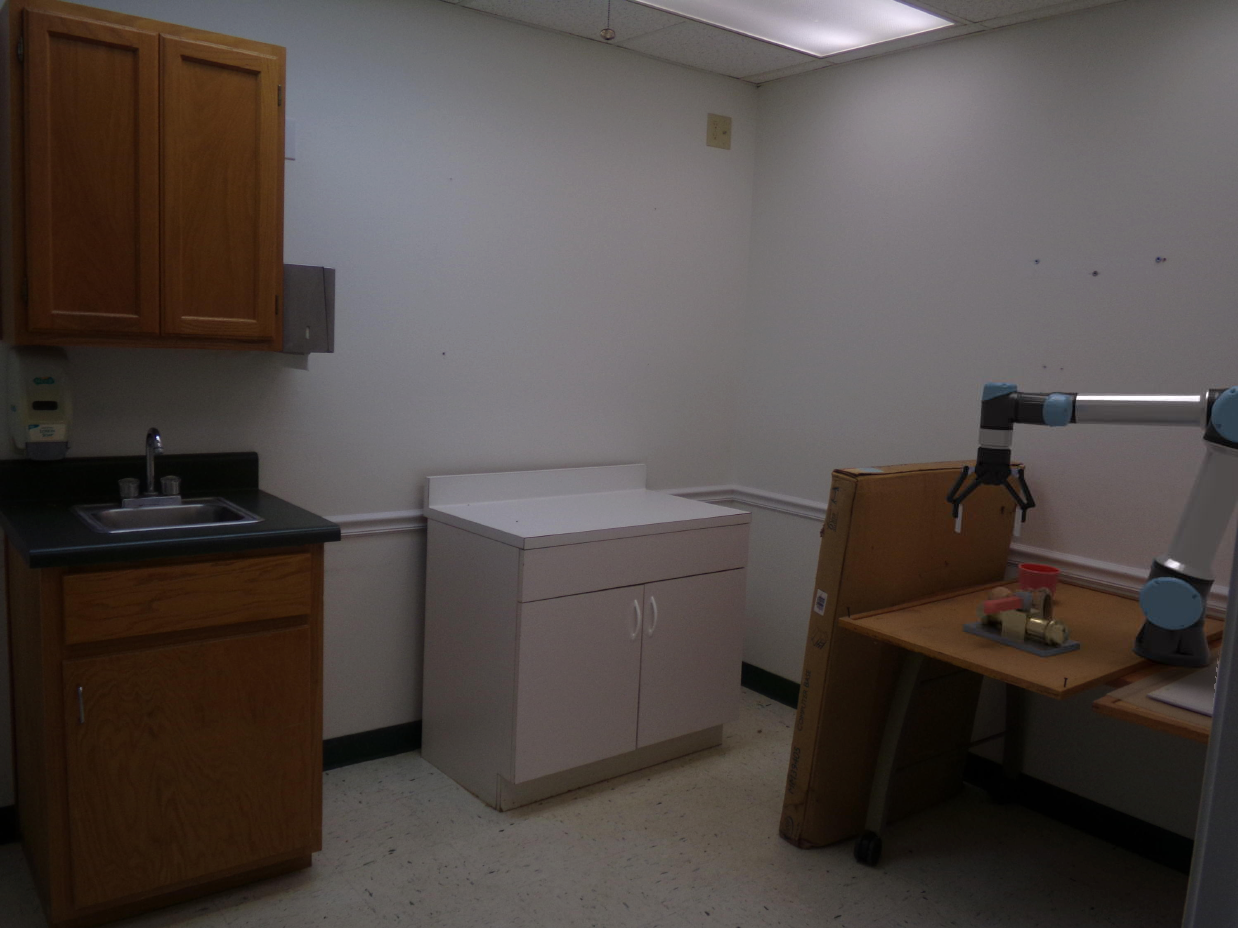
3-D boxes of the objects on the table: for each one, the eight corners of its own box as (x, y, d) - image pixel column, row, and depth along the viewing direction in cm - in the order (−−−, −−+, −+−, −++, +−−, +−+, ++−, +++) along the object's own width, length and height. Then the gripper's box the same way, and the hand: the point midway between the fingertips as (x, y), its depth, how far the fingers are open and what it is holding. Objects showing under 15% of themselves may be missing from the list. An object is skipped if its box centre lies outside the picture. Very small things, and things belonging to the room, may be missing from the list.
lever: (1034, 608, 218) (1035, 594, 218) (992, 617, 210) (993, 602, 209) (1020, 605, 221) (1022, 590, 221) (978, 613, 213) (980, 598, 212)
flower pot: (1064, 607, 251) (1068, 573, 250) (1024, 605, 251) (1028, 571, 250) (1047, 597, 262) (1050, 564, 260) (1009, 595, 262) (1012, 562, 260)
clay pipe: (1001, 643, 229) (1064, 632, 224) (990, 602, 228) (1054, 591, 223) (992, 620, 246) (1051, 610, 242) (983, 583, 246) (1042, 572, 241)
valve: (1079, 648, 214) (1083, 617, 214) (1044, 657, 207) (1047, 625, 206) (997, 623, 233) (1000, 594, 232) (962, 630, 226) (965, 600, 225)
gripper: (1045, 448, 220) (1037, 534, 222) (938, 442, 224) (931, 526, 227) (1054, 451, 212) (1045, 540, 215) (942, 445, 217) (935, 532, 220)
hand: (987, 533), depth 221 cm, fingers open, 13 cm apart
